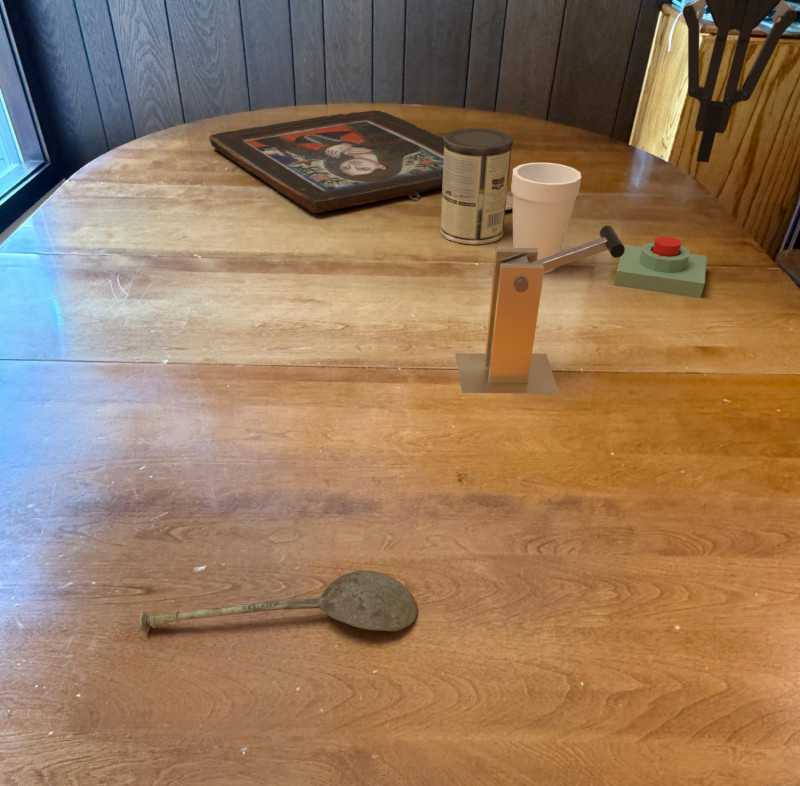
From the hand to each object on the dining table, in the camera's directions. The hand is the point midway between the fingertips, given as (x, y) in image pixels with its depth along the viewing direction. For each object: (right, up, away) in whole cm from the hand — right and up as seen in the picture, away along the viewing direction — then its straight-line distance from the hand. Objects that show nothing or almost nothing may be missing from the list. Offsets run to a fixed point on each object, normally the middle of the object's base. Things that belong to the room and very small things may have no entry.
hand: (702, 158), depth 101 cm
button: (-2, -9, +9) cm, 13 cm away
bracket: (-27, -31, -11) cm, 43 cm away
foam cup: (-20, -9, +14) cm, 26 cm away
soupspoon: (-49, -56, -39) cm, 84 cm away
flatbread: (-23, +7, +32) cm, 40 cm away
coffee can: (-28, -1, +23) cm, 36 cm away
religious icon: (-49, +22, +47) cm, 71 cm away
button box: (-2, -12, +11) cm, 16 cm away
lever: (-23, -21, -20) cm, 37 cm away
